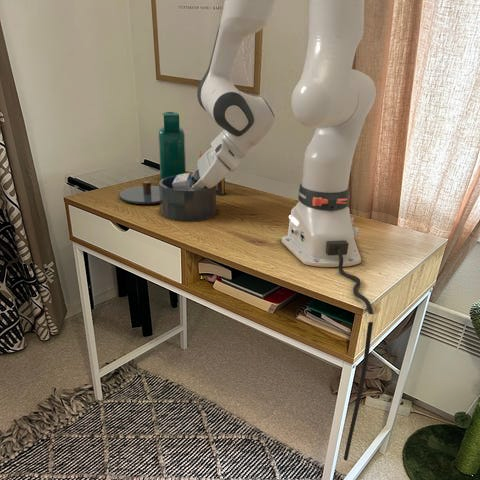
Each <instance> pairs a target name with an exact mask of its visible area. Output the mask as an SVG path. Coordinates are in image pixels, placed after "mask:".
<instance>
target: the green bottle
mask: <svg viewBox="0 0 480 480" xmlns="http://www.w3.org/2000/svg"><path fill="white" fill-rule="evenodd" d="M162 116H163V126H160V127H159V128H158V131H157V136H158V153H159V175H160V180H161V179H163V178H166V177H170V176H176V175H180V174H186V173H187V164H186V134H185V131H184V128H182V127H181V126H180V113H179V112H176V111H164V112H162Z"/></svg>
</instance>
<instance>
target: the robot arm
mask: <svg viewBox="0 0 480 480" xmlns="http://www.w3.org/2000/svg"><path fill="white" fill-rule="evenodd" d="M275 3H276V0H224V3H223V8H222V14H221V17H220V21H219V25H218V28H217V32H216V36H215V40H214V44H213V48H212V52H211V56H210V59H209V60H210V61H209V64H208V66H207V70H206V72H205V73H204V75H203V77H202V78H201V80H200V82H199V85H198V86H197V91H196V97H197V101H198V103H199V106H200V107H201V108H202V109H203V110H204V111H205V112H206V113H207V114H208V115H209V117H210V118H211V119H212V120H213V122H214V123H215V124H216V125H218V126H219V128H222V131H221V132H220V133H219V134H218V135H217V136H216V137H215V138H214V139H213V140H212V141H211V142H210V146H211V147H210V148H209V149H208V150H206V151H205V154H204V153H203V154H204V155H203V154H202V157H201V158H200V159H199V158H198V160H197V161H196V165H197V168H195V170H194V171H193V173H192V174H191V175H192V176H191V178H192V183H193V185H192V187H191V188H190V190H196V189H202V188H204V187H205V186H206V187H207V188H209V189H210V188H212V187H214V186H215V185H216V184H218V183H219V182H220V181H221V180H222V179H223V178H226V177H227V176H228V175H229V174H230V172H235V171H236V170H237V168H239V164H240V162H241V161H242V160H243V158H245V156H246V155H247V154H248V152H249V150H251V149H252V148H253V147H254V146H256V145H258V144H259V143H260V141H261V140H263V139H264V137H265V136H266V135H267V134H268V133H269V132H270V130H271V129H272V128H273V126H274V124H275V121H276V118H275V117H276V116H275V113H274V111H273V110H272V107H271V106H270V105H269V103H268V102H267V101H266V99H265V98H264V97H262V96H254V95H250V94H248V93H245V92H243V91H241V90H239V89H238V88H237V87H236V85H235V84H234V80H233V72H234V69H235V67H236V62H237V59H238V55H239V51H240V49H241V45H242V43H243V41H244V40H245V39H246V38H247V37H249V36H251V35H254V34H256V33H258V32H260V31H262V30H263V29H264V28H265V27H266V26H267V25H268V22H269V20H270V18H271V15H272V13H273V10H274V6H275ZM364 23H365V0H308V41H307V50H306V55H305V60H304V65H303V69H302V73H301V75H300V76H301V77H300V78H299V81H298V83H297V84H296V85H295V87H294V89H293V91H292V94H291V98H290V103H291V104H290V105H291V111H292V115H293V116H294V118H295V119H296V120H297V122H298V123H299V124H300V125H303V126H305V127H308V128H311V129H313V128H314V129H315V131H314V133H313V136H312V139H311V141H310V142H309V144H308V145H307V147H306V149H305V151H304V157H303V167H302V176H301V183H300V184H299V188H298V192H297V193H298V196H297V197H298V202H297V203H296V205H294V206H293V207H292V208H291V211H290V215H289V216H288V218H289V224H288V229H287V230H288V231H287V235H284V236H282V237H281V240H280V242H281V243H282V244H283V245H284V246H285V248H287V249H288V250H289V251H290V252H291V253H292V254H293V255H294V256H295V257H296V258H297V259H298V260H299V261H300V262H301V263H303V264H304V265H307V266H311V267H318V268H319V267H320V268H321V267H322V268H338V272H339V273H340V274H341V275H342V276H343V277H345V278H347V279H350V280H353V281H355V284H354V286H353V288H352V291H353V295H354V296H355V297H356V298H358V299H360V300H361V301H362V302H363V303H364V304H365V306H366V309H367V313H368V314H369V315H373V314H374V311H373V305H372V303H371V302H370V300H369V299H368V298H367V297H366V296H365V295H363V294H361V293H360V292H359V291H358V289H359V288H360V285H361V279H360V278H359V277H358V276H356V275H353V274H349V273H347V272H345V271H344V269H343V267H351V266H356V265H359V264H361V263H362V258H361V254H360V252H359V248H358V245H357V243H356V240H355V238H358V237H359V235H360V233H359V232H360V229H359V227H356V226H355V227H353V224H354V222H355V218H354V217H351V211H350V207H349V206H350V188H349V184H350V183H349V182H350V176H351V170H352V165H353V159H354V154H355V151H356V147H357V144H358V141H359V138H360V135H361V133H362V131H363V127H364V124H365V121H366V118H367V115H368V114H369V113H370V110H371V109H372V107H374V104H375V101H376V97H377V89H376V85H375V83H374V81H373V79H372V78H371V77H370V76H369V75H368V74H366V73H364V72H362V71H360V70H357V69H353V65H354V60H355V55H356V52H357V49H358V46H359V44H360V42H361V40H362V39H363V36H364V27H365V24H364ZM199 177H200V179H199V180H198V182H197V183H195V182H196V181H197V179H198V178H199ZM194 183H195V184H194ZM373 325H374V322H373V321H368V322H367V329H366V337H365V344H364V353H363V360H362V367H361V373H360V379H359V384H358V389H357V394H356V398H355V399H356V400H355V404H354V408H353V413H352V417H351V421H350V427H349V431H348V436H347V439H346V445H345V450H344V455H343V460H344V461H348V459H349V454H350V450H351V449H350V448H351V444H352V439H353V435H354V431H355V426H356V421H357V417H358V413H359V408H360V404H361V399H362V395H363V390H364V385H365V379H366V374H367V370H368V369H367V368H368V363H369V357H370V349H371V347H370V346H371V340H372V334H373V333H372V332H373Z"/></svg>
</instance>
